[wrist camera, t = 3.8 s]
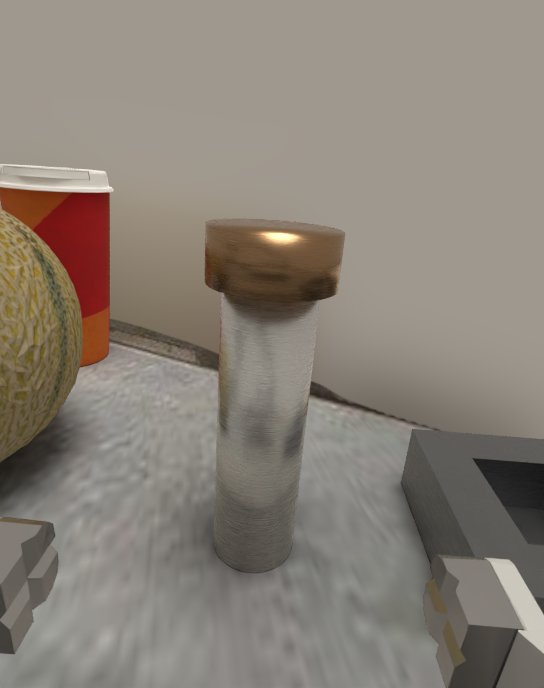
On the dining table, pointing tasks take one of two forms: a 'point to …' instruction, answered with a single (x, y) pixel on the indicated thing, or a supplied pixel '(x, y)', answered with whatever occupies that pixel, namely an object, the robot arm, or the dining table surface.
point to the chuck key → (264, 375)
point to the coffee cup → (69, 235)
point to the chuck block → (479, 498)
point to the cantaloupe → (34, 335)
